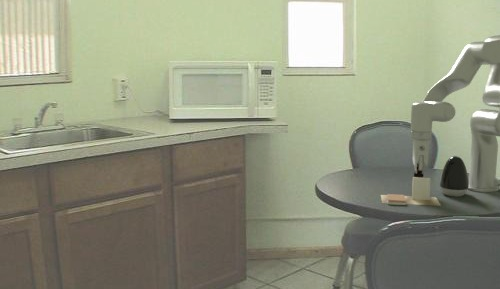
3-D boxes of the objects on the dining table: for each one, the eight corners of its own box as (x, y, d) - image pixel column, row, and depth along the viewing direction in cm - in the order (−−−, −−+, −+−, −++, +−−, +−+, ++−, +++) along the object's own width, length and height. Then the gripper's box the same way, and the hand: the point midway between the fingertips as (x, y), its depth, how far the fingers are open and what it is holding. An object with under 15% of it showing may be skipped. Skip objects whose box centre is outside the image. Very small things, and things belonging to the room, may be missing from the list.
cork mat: (436, 198, 187) (436, 197, 187) (441, 207, 176) (441, 205, 176) (380, 196, 191) (380, 194, 190) (382, 204, 180) (382, 202, 180)
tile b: (403, 194, 184) (406, 200, 177) (403, 199, 185) (405, 205, 177) (386, 194, 186) (388, 199, 178) (386, 198, 186) (388, 204, 178)
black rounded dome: (433, 195, 191) (436, 156, 189) (446, 190, 198) (448, 152, 196) (460, 200, 184) (463, 160, 181) (472, 195, 191) (474, 156, 188)
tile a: (428, 198, 185) (429, 177, 183) (429, 200, 183) (430, 178, 182) (411, 198, 186) (412, 177, 184) (412, 199, 184) (413, 177, 183)
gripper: (434, 138, 180) (431, 188, 183) (428, 133, 195) (426, 179, 198) (412, 138, 182) (409, 187, 185) (408, 132, 196) (406, 178, 199)
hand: (418, 183), depth 191 cm, fingers closed
